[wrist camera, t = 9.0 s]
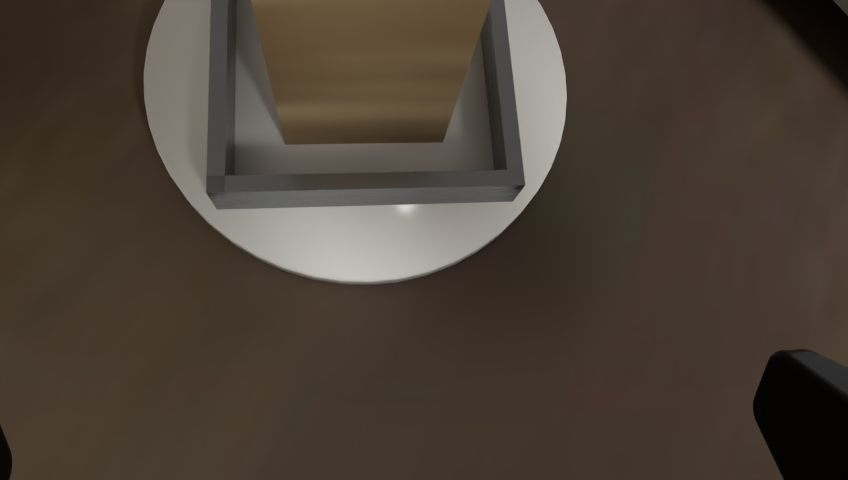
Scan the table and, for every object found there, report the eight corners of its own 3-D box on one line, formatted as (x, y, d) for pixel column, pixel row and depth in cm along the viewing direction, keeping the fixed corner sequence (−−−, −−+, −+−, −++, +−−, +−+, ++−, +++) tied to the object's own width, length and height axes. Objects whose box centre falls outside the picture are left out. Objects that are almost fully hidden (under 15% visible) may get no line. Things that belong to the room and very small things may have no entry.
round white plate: (581, 276, 17) (592, 269, 16) (143, 295, 15) (132, 288, 14) (534, -74, 20) (542, -94, 19) (161, -85, 18) (152, -107, 17)
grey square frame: (513, 201, 16) (525, 185, 15) (216, 209, 15) (205, 192, 14) (486, -42, 18) (496, -73, 17) (222, -48, 17) (212, -81, 16)
